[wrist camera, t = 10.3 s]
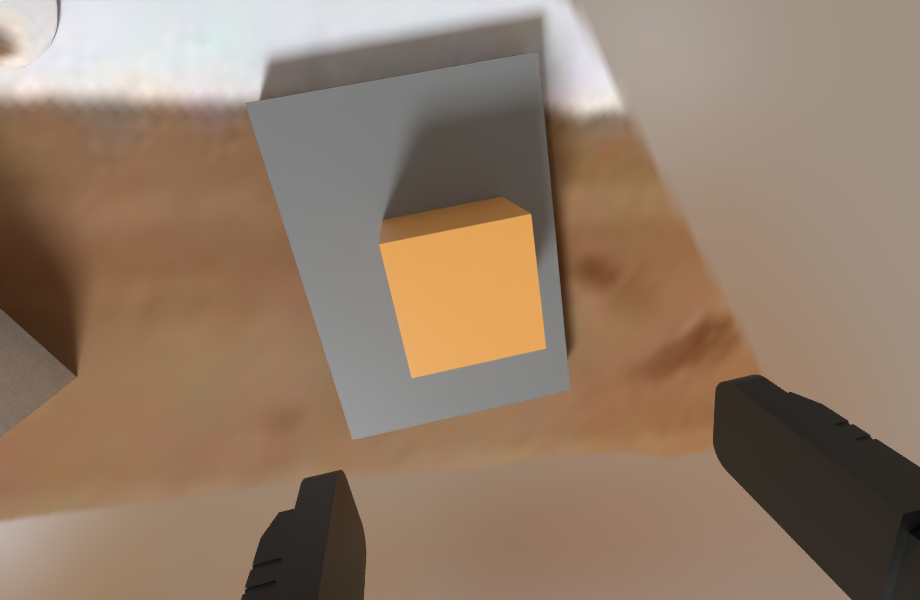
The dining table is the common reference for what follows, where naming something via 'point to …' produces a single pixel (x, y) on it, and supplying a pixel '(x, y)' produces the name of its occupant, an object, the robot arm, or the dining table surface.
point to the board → (404, 193)
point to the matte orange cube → (464, 284)
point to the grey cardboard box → (25, 374)
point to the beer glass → (25, 31)
